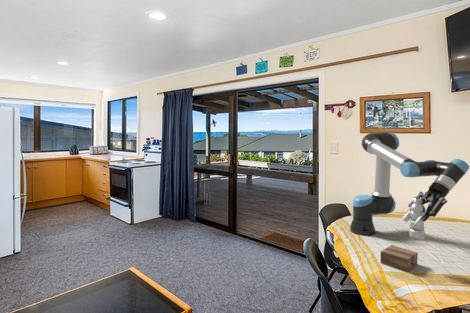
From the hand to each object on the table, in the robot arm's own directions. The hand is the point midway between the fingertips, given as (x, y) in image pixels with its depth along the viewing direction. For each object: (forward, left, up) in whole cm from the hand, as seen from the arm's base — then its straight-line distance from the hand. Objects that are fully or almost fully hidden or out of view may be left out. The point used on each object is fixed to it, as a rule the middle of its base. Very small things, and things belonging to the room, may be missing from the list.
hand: (410, 222), depth 130 cm
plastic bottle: (-3, +2, -9) cm, 9 cm away
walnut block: (0, -5, -22) cm, 22 cm away
